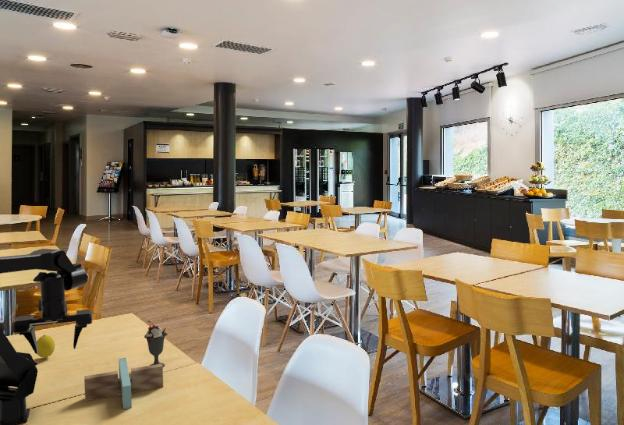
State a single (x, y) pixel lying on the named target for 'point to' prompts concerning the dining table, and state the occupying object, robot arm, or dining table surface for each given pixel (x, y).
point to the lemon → (45, 346)
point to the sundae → (155, 342)
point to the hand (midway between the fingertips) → (55, 351)
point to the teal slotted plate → (125, 383)
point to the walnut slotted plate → (111, 386)
